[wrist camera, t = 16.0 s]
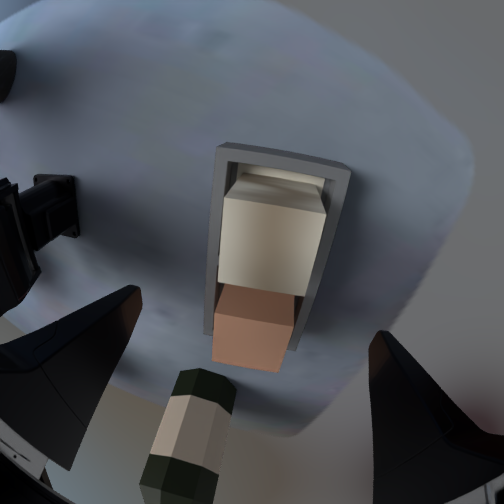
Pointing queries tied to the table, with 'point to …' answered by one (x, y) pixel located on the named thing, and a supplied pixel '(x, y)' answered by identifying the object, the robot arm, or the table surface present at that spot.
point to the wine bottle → (190, 441)
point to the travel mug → (6, 72)
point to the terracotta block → (252, 327)
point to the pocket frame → (281, 166)
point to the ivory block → (270, 234)
